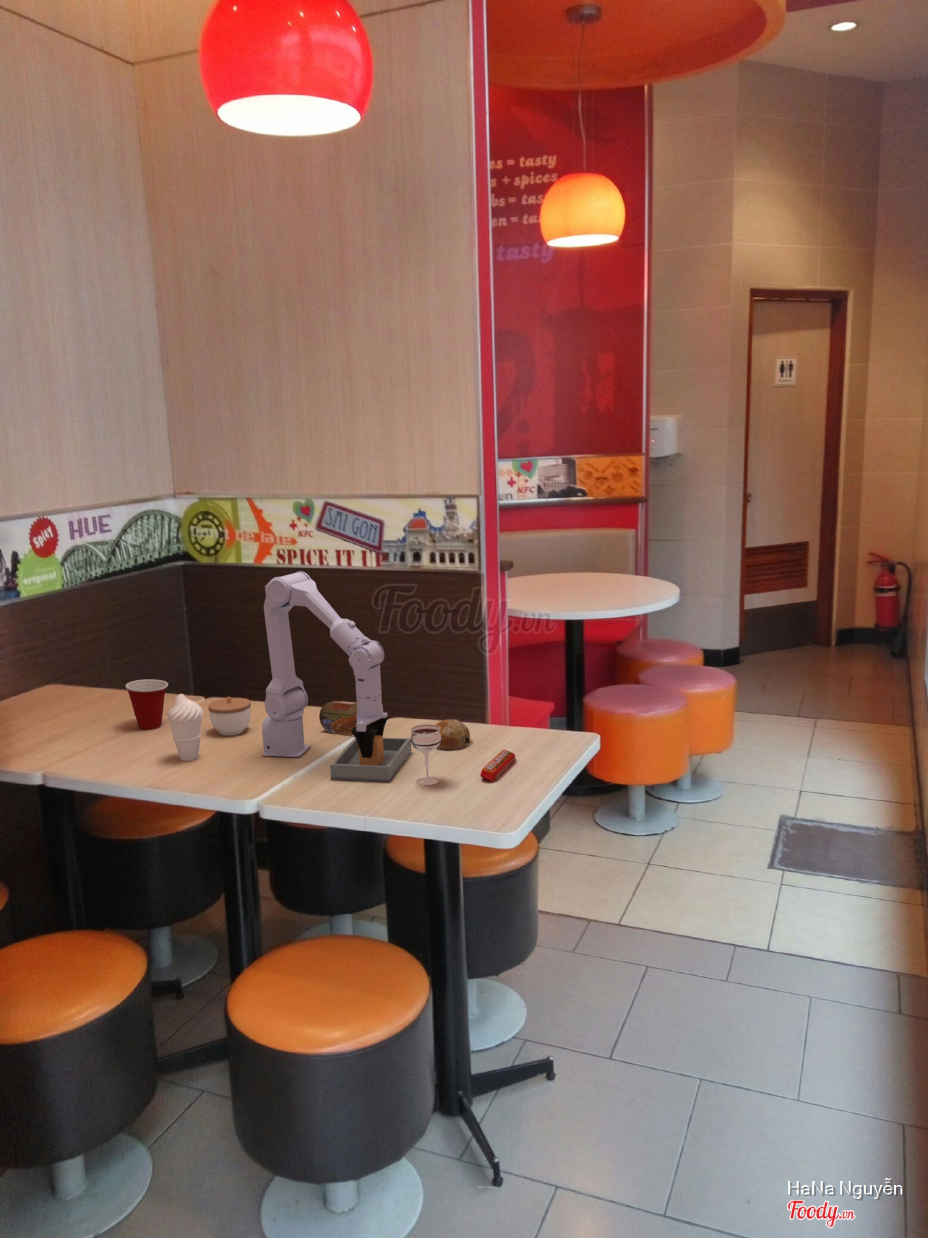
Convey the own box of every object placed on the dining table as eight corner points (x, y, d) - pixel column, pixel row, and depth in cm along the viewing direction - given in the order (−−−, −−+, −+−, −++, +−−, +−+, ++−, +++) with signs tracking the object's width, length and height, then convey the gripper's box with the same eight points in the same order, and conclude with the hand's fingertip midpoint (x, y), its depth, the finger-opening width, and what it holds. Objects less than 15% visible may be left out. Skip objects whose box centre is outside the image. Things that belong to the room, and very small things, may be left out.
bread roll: (458, 765, 235) (471, 737, 233) (420, 747, 236) (432, 718, 234) (466, 752, 245) (478, 724, 242) (429, 733, 246) (441, 706, 243)
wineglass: (423, 773, 220) (420, 722, 218) (448, 778, 217) (446, 726, 215) (406, 783, 215) (403, 731, 212) (432, 788, 211) (430, 735, 209)
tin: (319, 732, 252) (317, 701, 250) (325, 729, 255) (323, 698, 253) (371, 738, 246) (369, 706, 244) (377, 734, 249) (375, 702, 247)
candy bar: (493, 784, 213) (493, 771, 213) (477, 782, 215) (477, 770, 214) (517, 760, 228) (517, 748, 227) (503, 758, 229) (502, 746, 229)
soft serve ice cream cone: (214, 754, 238) (208, 691, 234) (191, 766, 230) (185, 700, 227) (187, 750, 241) (181, 688, 238) (163, 761, 234) (157, 697, 230)
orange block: (359, 766, 225) (358, 741, 224) (365, 759, 229) (364, 735, 228) (378, 767, 224) (377, 742, 223) (384, 760, 228) (382, 735, 227)
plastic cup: (164, 732, 256) (160, 688, 253) (123, 733, 256) (119, 689, 253) (177, 719, 266) (173, 677, 264) (137, 720, 266) (133, 678, 264)
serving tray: (330, 779, 218) (330, 765, 218) (357, 750, 237) (356, 736, 237) (389, 782, 216) (388, 767, 215) (411, 752, 235) (410, 738, 234)
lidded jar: (217, 741, 247) (213, 705, 245) (206, 730, 256) (202, 696, 254) (258, 733, 252) (255, 698, 250) (245, 723, 262) (243, 689, 260)
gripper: (376, 704, 215) (379, 763, 218) (394, 686, 229) (396, 741, 232) (346, 703, 217) (349, 762, 219) (365, 686, 231) (368, 740, 233)
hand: (371, 751), depth 226 cm, fingers open, 7 cm apart
